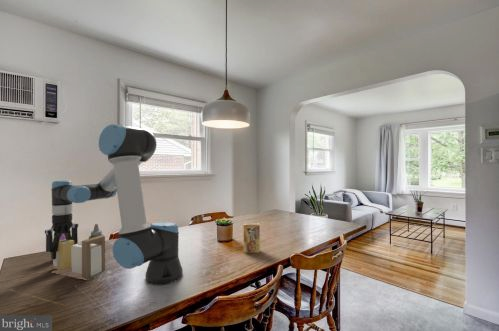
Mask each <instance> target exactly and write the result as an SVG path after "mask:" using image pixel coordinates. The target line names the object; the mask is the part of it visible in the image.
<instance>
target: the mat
mask: <svg viewBox="0 0 499 331" xmlns="http://www.w3.org/2000/svg"><path fill="white" fill-rule="evenodd" d="M111 270H112V268H108V267H105V270H104V271H102V272H100V273H98V274H96V275H93V276H91V277H89V278H85V279H87V280H88V281H91V280H92V279H94V278H96V277H98V276H100V275H102V274H105V273H107V272H109V271H111Z"/></svg>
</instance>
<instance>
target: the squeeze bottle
mask: <svg viewBox="0 0 499 331" xmlns="http://www.w3.org/2000/svg"><path fill="white" fill-rule="evenodd" d="M97 236H105V235H104V233H103V231H102V230H100V228H99V224H98V223H95V224H94V227H93V230H92V231H91V232H90V236H89V237H88V239H90V238H94V237H97ZM93 244H97V242H96V243H93ZM106 251H107V250H106V249H105V252H106Z"/></svg>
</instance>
